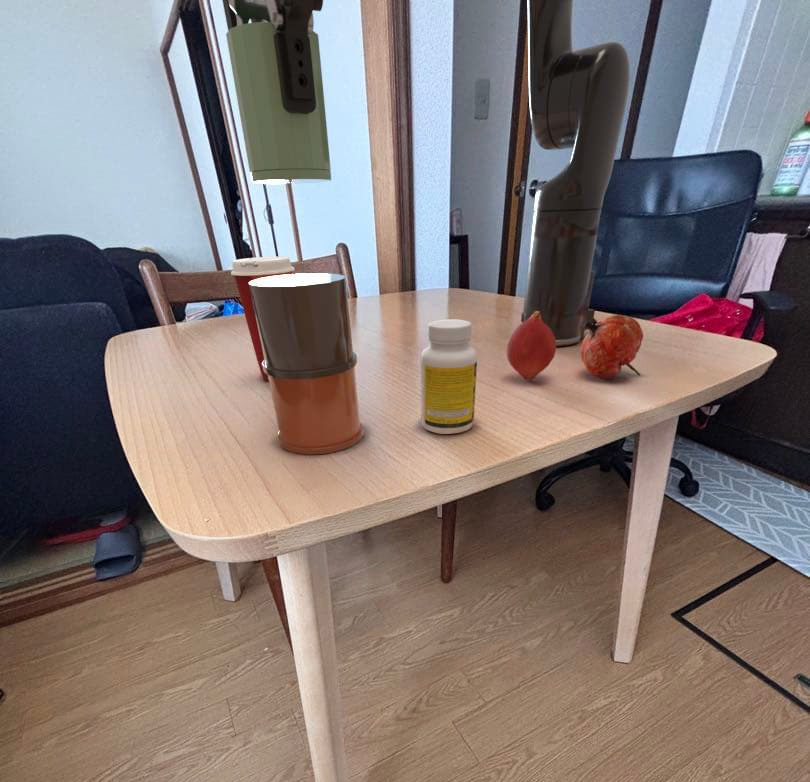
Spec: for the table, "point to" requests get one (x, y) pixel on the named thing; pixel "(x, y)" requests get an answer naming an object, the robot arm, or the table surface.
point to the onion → (531, 347)
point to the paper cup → (244, 275)
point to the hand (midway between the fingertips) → (284, 119)
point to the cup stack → (309, 360)
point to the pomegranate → (611, 345)
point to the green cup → (276, 111)
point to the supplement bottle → (448, 378)
